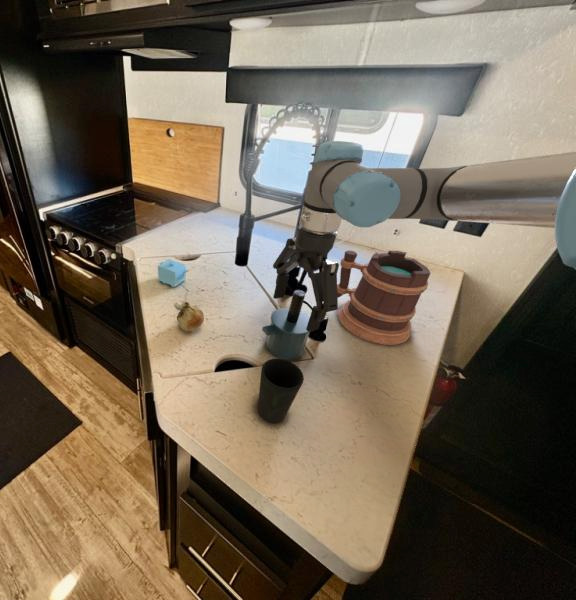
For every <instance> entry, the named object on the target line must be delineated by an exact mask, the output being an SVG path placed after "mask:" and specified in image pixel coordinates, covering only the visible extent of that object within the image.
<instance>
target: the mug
mask: <svg viewBox="0 0 576 600" xmlns="http://www.w3.org/2000/svg"><path fill="white" fill-rule="evenodd" d="M406 255H407V252H406V251H402V250H388V252H387V253H385V252H383V253H378V252H375V253H373V254H372V256H371V258H370V259H369V262H367V263H363V264H362V263H358V262H356V258H358V253H357V252H356V251H354V250H346V251H344V255H343V257H342V258H340V263H339V266H340V274H339V283H337V295H338V299H339V298H341V297H342V296H344V295H346V294H347V295H348V297H349V299H348V300H347V301H346V302H344V304H343V305H342V306H341V307H340V308H339V310H338V313H337V317H338V321H339V322H340V324H341V325H342V327H344V328H345V329H346V330H347V331H349V332H350V333H351V334H353V335H354V336H357V337H358V338H361V339H362V340H366V341H369V342H371V343H374V344H379V345H380V344H381V345H387V346H388V345H389V346H390V345H393V346H394V345H399V344H402V343H405V342H407V341H408V339H409V338H410V337H411V329H412V321H411V320H412V319H413V317H415V314H416V313H417V311H416V309H417V308H416V306H417V304H418V302H419V300H420V298H421V295H422V294H423V293H424V292H425V291H426V290H427V289H428V286H429V278H430V276H431V271H430V269H429V268H428V267H427V266H425V264H423V263H421V262H419V261H418V260H417V259H415V258H411V257H406ZM352 269H356V270H359V271H360V272H361V275H362V276H361V278H360V280H359V282H358V284H357V286H356V288H349V286H350V279H351V273H352Z"/></svg>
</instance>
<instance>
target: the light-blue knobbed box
mask: <svg viewBox="0 0 576 600" xmlns="http://www.w3.org/2000/svg"><path fill="white" fill-rule="evenodd" d="M187 272H190V270H189V269H187V265H186V264H184V263H181V262H179V261H176V260H173V259H167V260H165V261H164V262H160V263H159V265H158V266H157V277H158V281H160V282H162V284H167V285H170V287H171V288H175V287H177V286H178V285H179V284H181V283H182V282H183V281H185V280H187V279H186V277H187V275H186V274H187Z"/></svg>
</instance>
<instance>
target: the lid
mask: <svg viewBox="0 0 576 600" xmlns="http://www.w3.org/2000/svg"><path fill="white" fill-rule="evenodd" d="M305 297H306V292H305V291H303V290H300V289H294V290H293V292H292V296H291V300H290V304H289V307H281V308H278V309H275V310H274V311H272V313H271V315H270V323H271V322H272V324H273V325H274V326H275V327H276V328H277V329H279V330H281V331H282V332H285V333H288V334H292V335H303V334H307V333H309V332H310V333H311V331H309V332H308V331H307V330H306V328H307V325H308V322H309V318H310V317H309V316H310V315H308V314H307V313H305V312H304V311H301V310H302V309H303V308H302V307H303V304H304V301H305ZM310 333H309V334H310Z"/></svg>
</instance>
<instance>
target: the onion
mask: <svg viewBox="0 0 576 600" xmlns="http://www.w3.org/2000/svg"><path fill="white" fill-rule="evenodd" d="M173 307H174V308H175V309H176V310H177V311H178V314H177V316H176V321H177V323H178V326H179V327H180V329H182V331H183V330H184V331H185V332H193V331H196V330H199V329H200V327H201V326H202V325H203V323H204V321H205V314H204V312H203V309H201V308H199V307H198V306H196V305H192V306H191V304H190V302H189V301H184V302H182V303H181V305H180V304H178V302H174V303H173Z"/></svg>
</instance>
